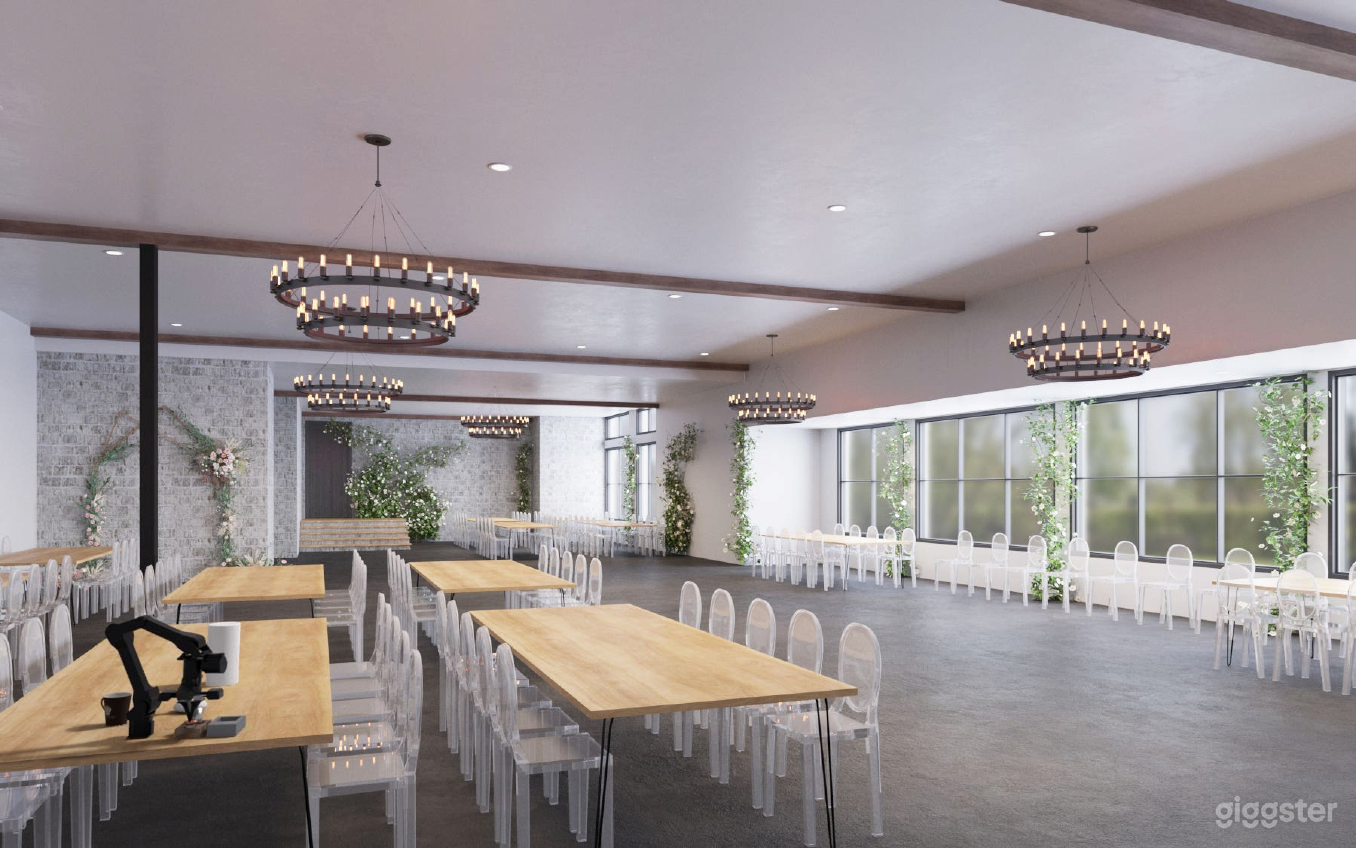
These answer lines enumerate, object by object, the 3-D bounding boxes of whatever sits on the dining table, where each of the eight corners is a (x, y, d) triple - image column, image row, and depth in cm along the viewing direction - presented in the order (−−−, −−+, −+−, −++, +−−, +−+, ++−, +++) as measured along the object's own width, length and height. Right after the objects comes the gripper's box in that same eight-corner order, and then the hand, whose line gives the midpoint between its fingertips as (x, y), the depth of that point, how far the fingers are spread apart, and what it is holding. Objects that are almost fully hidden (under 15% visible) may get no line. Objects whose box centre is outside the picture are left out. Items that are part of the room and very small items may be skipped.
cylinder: (233, 679, 400) (236, 621, 401) (241, 684, 390) (244, 624, 392) (202, 683, 392) (204, 623, 393) (209, 688, 382) (212, 626, 384)
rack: (206, 737, 306) (207, 725, 307) (217, 728, 318) (218, 716, 318) (235, 736, 308) (236, 724, 308) (245, 727, 320) (246, 715, 320)
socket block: (174, 738, 305) (174, 729, 305) (186, 729, 316) (186, 720, 316) (200, 737, 306) (200, 728, 306) (211, 728, 318) (211, 719, 318)
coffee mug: (133, 724, 323) (134, 695, 323) (105, 728, 317) (106, 699, 317) (125, 718, 331) (126, 690, 332) (97, 722, 325) (98, 693, 326)
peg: (186, 733, 311) (187, 709, 312) (190, 730, 315) (191, 706, 315) (199, 733, 312) (200, 709, 312) (203, 730, 316) (204, 706, 316)
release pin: (181, 735, 306) (181, 722, 306) (185, 732, 309) (185, 719, 310) (194, 734, 306) (194, 722, 307) (198, 731, 310) (198, 719, 311)
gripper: (153, 679, 300) (150, 728, 299) (215, 677, 303) (213, 726, 302) (165, 672, 311) (163, 720, 309) (225, 671, 314) (223, 717, 313)
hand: (190, 721), depth 308 cm, fingers closed, pressing on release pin
